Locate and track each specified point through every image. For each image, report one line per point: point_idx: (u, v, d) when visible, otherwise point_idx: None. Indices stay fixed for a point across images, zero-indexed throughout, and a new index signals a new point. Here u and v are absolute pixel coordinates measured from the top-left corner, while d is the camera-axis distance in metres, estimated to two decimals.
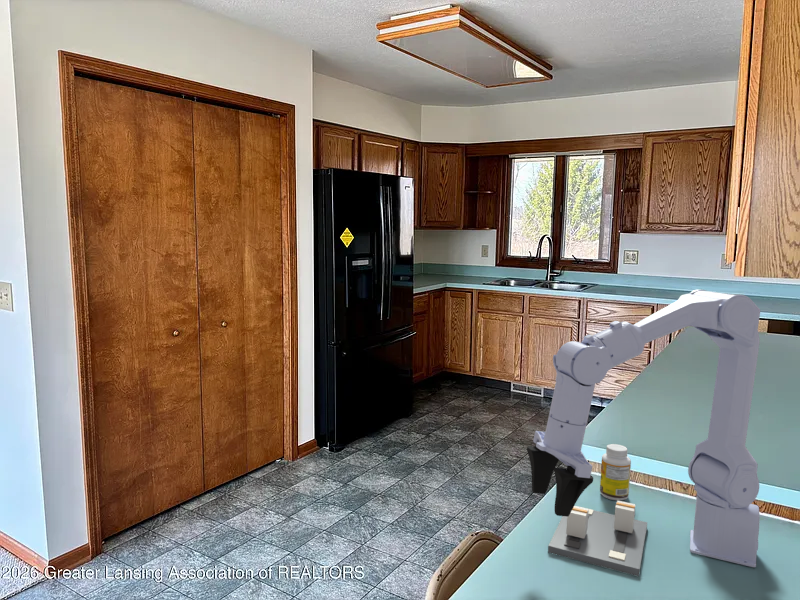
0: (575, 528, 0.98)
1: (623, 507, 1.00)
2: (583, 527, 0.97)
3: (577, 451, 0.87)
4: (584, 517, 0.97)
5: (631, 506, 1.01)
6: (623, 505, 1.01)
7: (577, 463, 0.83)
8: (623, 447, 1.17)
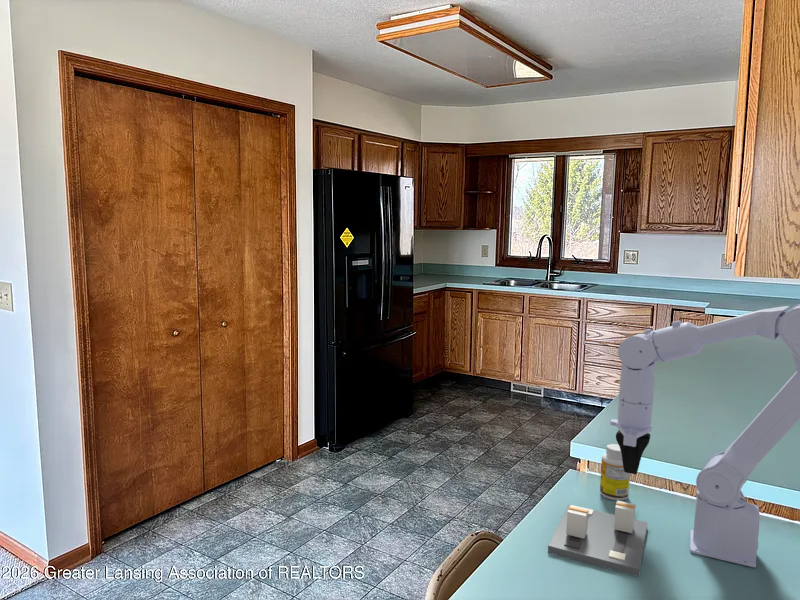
0: (575, 528, 0.98)
1: (623, 507, 1.00)
2: (583, 527, 0.97)
3: (640, 426, 1.03)
4: (584, 517, 0.97)
5: (631, 506, 1.01)
6: (623, 505, 1.01)
7: (624, 433, 1.00)
8: None
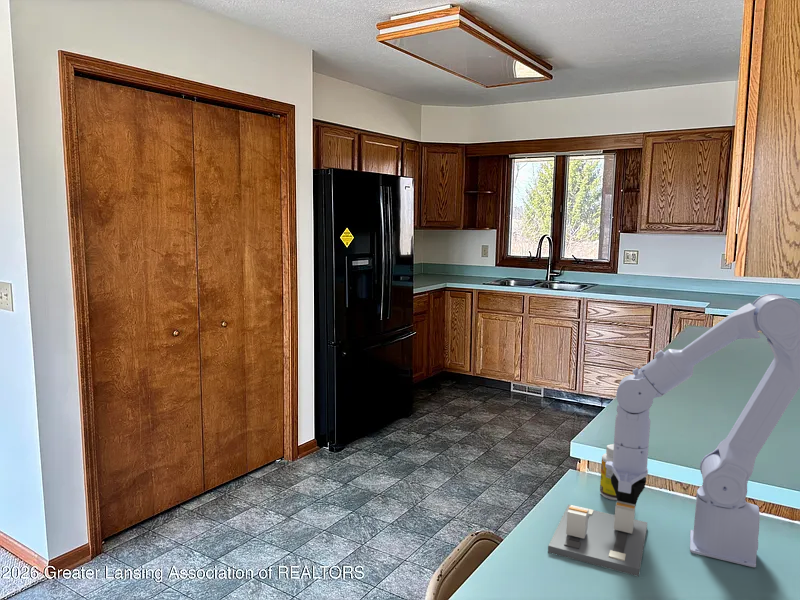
0: (575, 528, 0.98)
1: (623, 507, 1.00)
2: (583, 527, 0.97)
3: (635, 471, 1.00)
4: (584, 517, 0.97)
5: (631, 506, 1.00)
6: (623, 505, 1.01)
7: (618, 479, 0.98)
8: None
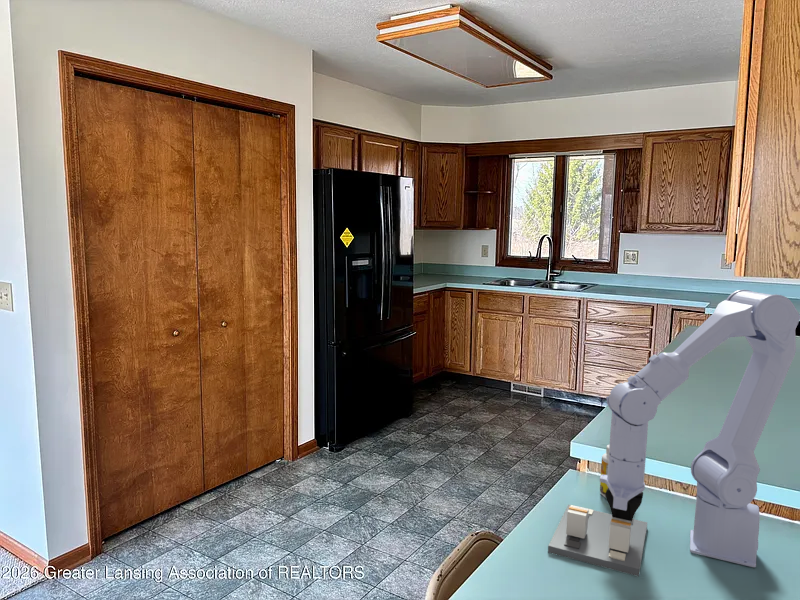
0: (575, 528, 0.98)
1: (618, 524, 0.94)
2: (583, 527, 0.97)
3: (631, 486, 0.94)
4: (584, 517, 0.97)
5: (627, 523, 0.94)
6: (618, 522, 0.95)
7: (614, 495, 0.92)
8: None
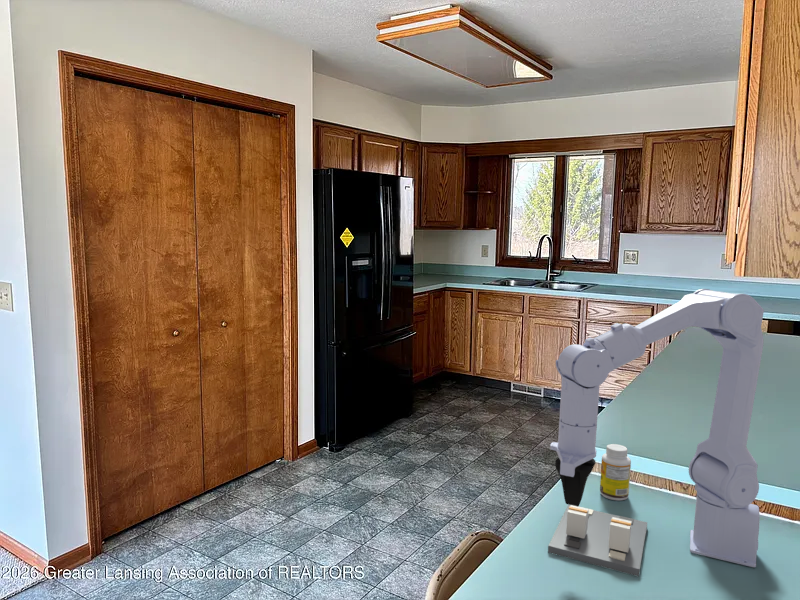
0: (575, 528, 0.98)
1: (618, 524, 0.94)
2: (583, 527, 0.97)
3: (581, 452, 0.89)
4: (584, 517, 0.97)
5: (627, 523, 0.94)
6: (618, 522, 0.95)
7: (561, 461, 0.87)
8: (623, 447, 1.17)
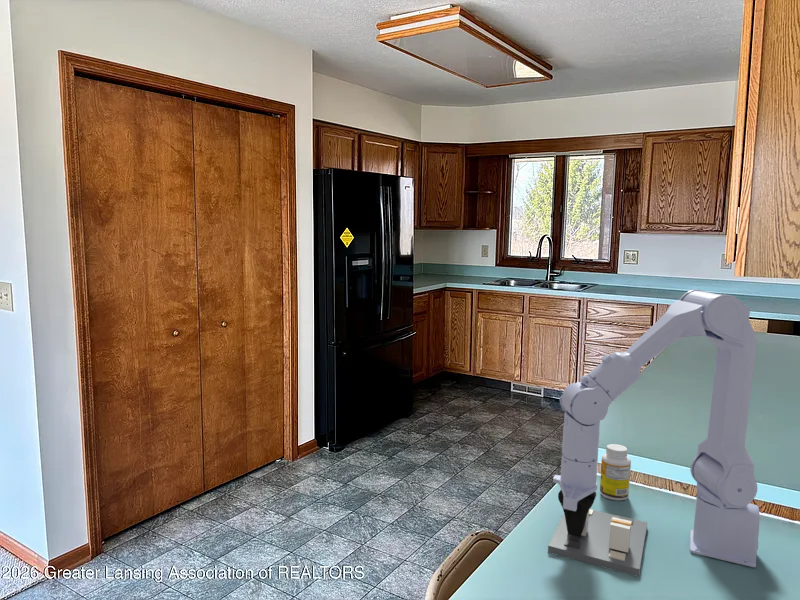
0: None
1: (618, 524, 0.94)
2: (584, 525, 0.98)
3: (583, 486, 0.93)
4: None
5: (627, 523, 0.94)
6: (618, 522, 0.95)
7: (564, 496, 0.91)
8: (623, 447, 1.17)
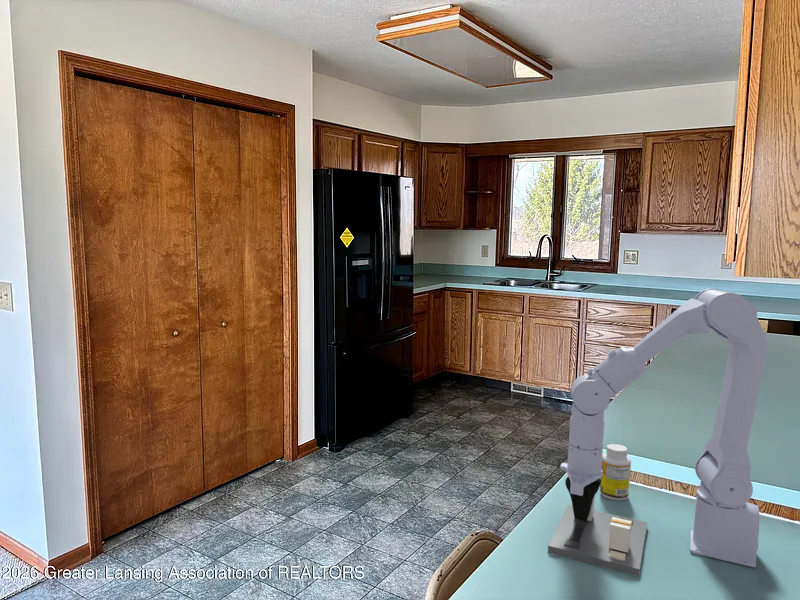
0: None
1: (618, 524, 0.94)
2: (590, 510, 1.03)
3: (589, 473, 0.99)
4: None
5: (627, 523, 0.94)
6: (618, 522, 0.95)
7: (571, 481, 0.96)
8: (623, 447, 1.17)
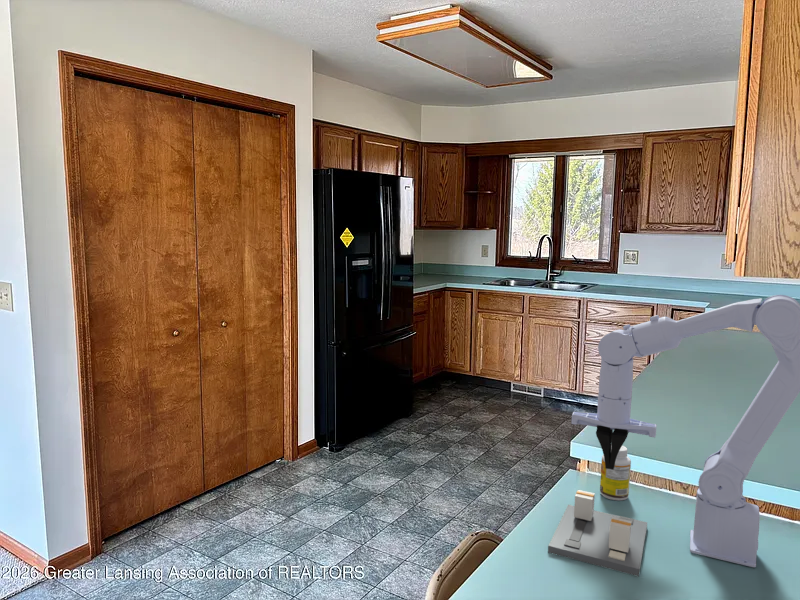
0: (582, 511, 1.04)
1: (618, 524, 0.94)
2: (590, 510, 1.03)
3: (597, 416, 1.06)
4: (591, 501, 1.03)
5: (627, 523, 0.94)
6: (618, 522, 0.95)
7: (577, 412, 1.10)
8: (623, 447, 1.17)
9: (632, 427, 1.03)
